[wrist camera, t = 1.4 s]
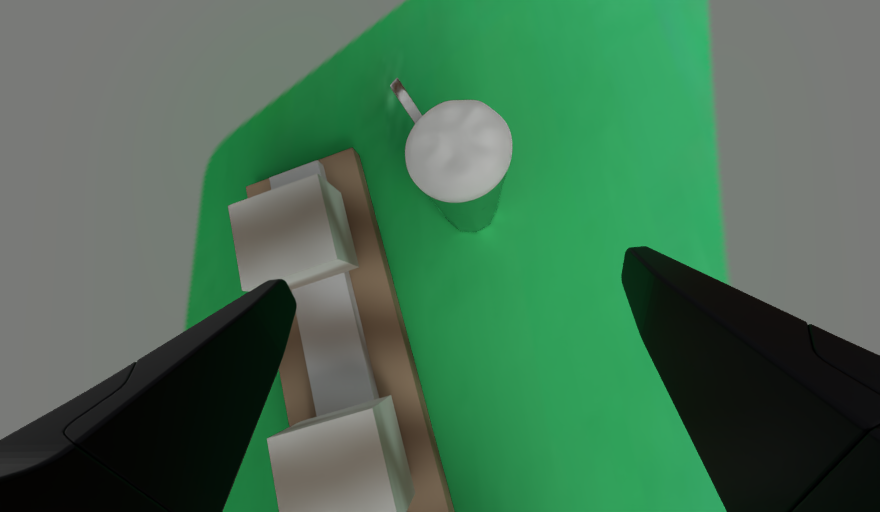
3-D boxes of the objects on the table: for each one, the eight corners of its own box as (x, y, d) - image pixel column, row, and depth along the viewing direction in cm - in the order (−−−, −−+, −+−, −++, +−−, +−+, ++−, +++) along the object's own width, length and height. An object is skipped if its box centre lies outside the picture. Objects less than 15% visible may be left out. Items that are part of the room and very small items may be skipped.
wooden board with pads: (460, 533, 19) (448, 605, 14) (328, 566, 20) (274, 644, 15) (359, 155, 25) (325, 114, 20) (257, 193, 25) (200, 162, 20)
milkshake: (459, 155, 23) (432, 38, 14) (521, 204, 22) (541, 113, 12) (413, 205, 23) (353, 123, 14) (473, 257, 22) (455, 208, 12)
